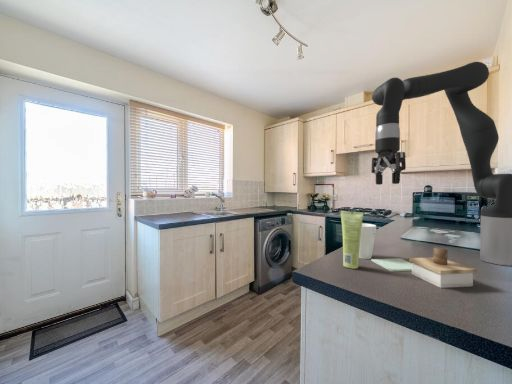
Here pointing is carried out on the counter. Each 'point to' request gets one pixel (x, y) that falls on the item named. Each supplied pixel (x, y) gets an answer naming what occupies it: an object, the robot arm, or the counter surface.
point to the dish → (443, 277)
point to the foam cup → (367, 240)
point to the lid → (442, 263)
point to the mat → (394, 264)
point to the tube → (351, 237)
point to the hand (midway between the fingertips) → (386, 184)
